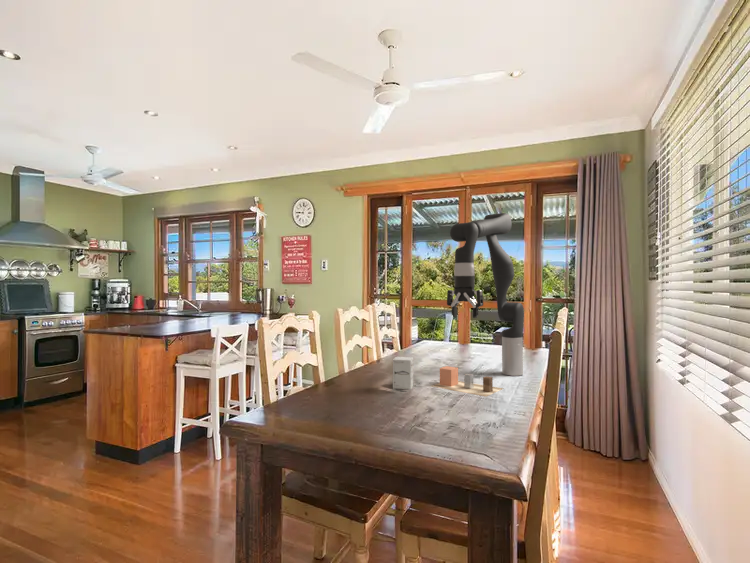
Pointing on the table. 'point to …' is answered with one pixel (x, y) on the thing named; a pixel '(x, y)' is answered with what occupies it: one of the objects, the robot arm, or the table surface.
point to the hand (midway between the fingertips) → (464, 317)
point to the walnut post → (488, 384)
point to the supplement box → (402, 373)
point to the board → (460, 388)
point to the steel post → (468, 381)
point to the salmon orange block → (448, 376)
